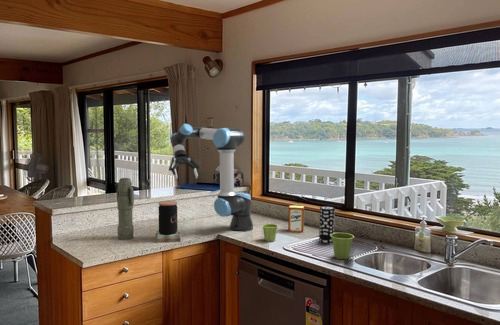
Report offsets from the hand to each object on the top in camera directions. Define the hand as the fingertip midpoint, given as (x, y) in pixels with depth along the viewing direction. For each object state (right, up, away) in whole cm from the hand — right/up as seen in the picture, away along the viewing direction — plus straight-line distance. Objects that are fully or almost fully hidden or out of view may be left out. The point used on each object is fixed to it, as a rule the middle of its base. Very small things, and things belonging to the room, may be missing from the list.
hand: (187, 177), depth 263 cm
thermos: (-32, -34, -23) cm, 53 cm away
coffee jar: (-7, -31, -25) cm, 41 cm away
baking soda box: (+70, -34, -2) cm, 77 cm away
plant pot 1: (+52, -36, -25) cm, 68 cm away
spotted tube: (+84, -36, -28) cm, 96 cm away
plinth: (-7, -35, -24) cm, 43 cm away
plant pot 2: (+87, -39, -55) cm, 110 cm away
